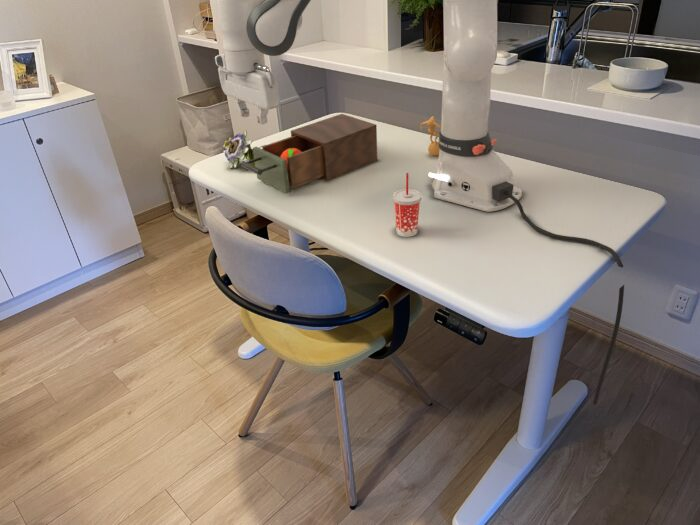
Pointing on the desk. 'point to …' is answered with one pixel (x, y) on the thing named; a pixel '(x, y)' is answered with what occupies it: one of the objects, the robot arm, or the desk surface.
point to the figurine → (431, 125)
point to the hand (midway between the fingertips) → (253, 119)
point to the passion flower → (238, 149)
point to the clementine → (289, 154)
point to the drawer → (299, 165)
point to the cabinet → (342, 143)
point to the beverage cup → (407, 210)
